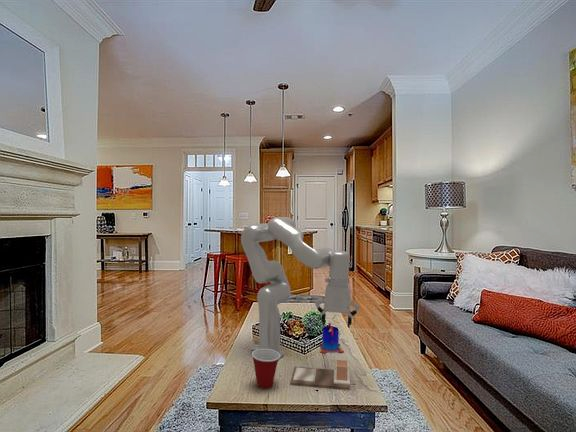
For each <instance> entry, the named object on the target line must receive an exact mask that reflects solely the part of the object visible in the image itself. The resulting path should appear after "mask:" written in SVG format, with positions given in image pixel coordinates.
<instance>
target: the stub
mask: <svg viewBox="0 0 576 432" xmlns="http://www.w3.org/2000/svg"><path fill="white" fill-rule="evenodd" d="M333 370H334V384H343V385H349V386H351V375H350V373H351V372H350V370H348V360H345V359H336V369H333Z"/></svg>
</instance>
